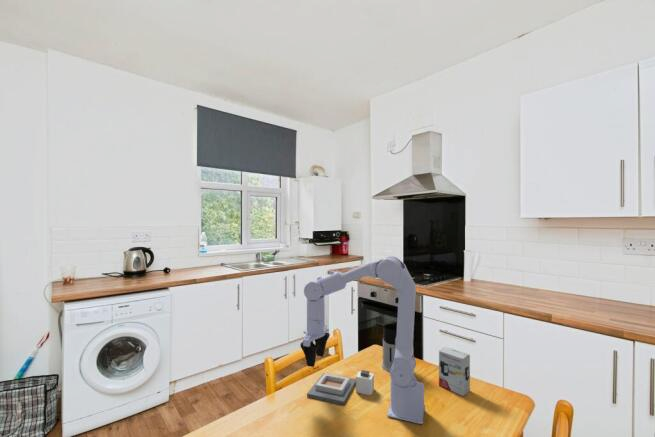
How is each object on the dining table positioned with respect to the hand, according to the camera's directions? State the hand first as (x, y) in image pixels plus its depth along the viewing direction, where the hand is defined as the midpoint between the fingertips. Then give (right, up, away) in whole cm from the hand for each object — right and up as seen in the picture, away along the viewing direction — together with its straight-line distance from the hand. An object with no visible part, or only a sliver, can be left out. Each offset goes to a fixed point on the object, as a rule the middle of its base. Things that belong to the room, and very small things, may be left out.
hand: (315, 360), depth 96 cm
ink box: (+45, -10, +2) cm, 47 cm away
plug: (+16, -10, +1) cm, 19 cm away
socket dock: (+6, -10, +2) cm, 12 cm away
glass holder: (+29, -11, +14) cm, 34 cm away
